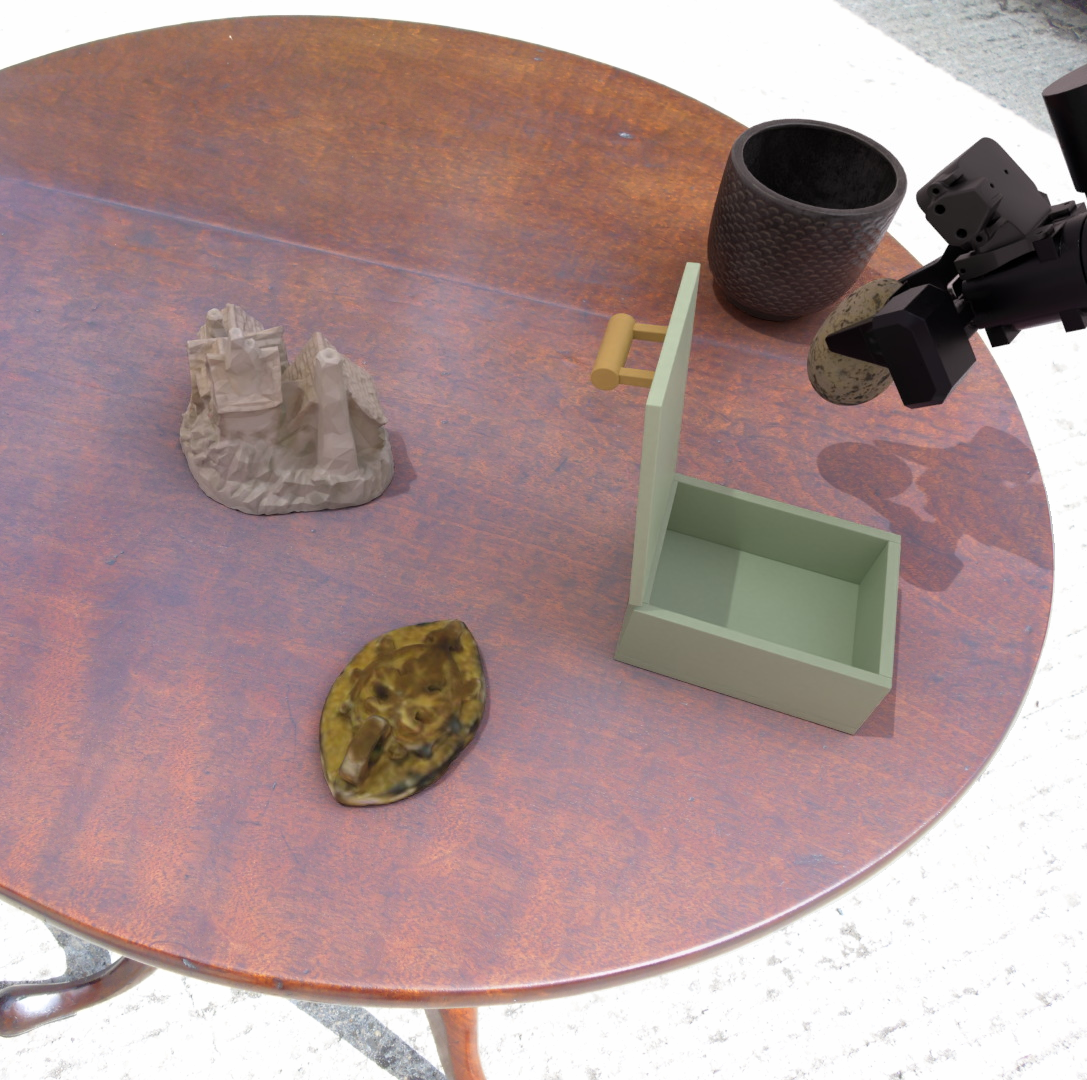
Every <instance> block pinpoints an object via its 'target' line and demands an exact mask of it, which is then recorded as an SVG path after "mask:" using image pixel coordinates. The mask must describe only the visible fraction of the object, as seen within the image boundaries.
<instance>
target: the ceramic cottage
mask: <svg viewBox="0 0 1087 1080" xmlns="http://www.w3.org/2000/svg"><path fill="white" fill-rule="evenodd" d="M205 316H206V317H205V323H204V324H203V325H202V326H200V328H199V330H198V332H196V336H197V339H193V340H187V341H186V344H185V348H186V355H187V359H188V371H189V377H190V385H191V386H190V387H191V393H190V397H189V400H190V401H189V403H188V405H187V408H186V411H185V412H183V413H181V425H180V428H179V438H178V440H179V443H180V446H181V450H182V453H183V454H184V456H185V459H186V460H187V461H186V462H187V466H188V469H189V470H190V473H191V474H192V476H193V479H194V480H195V481H196V483H198V487H199V488H200V490H201V491H202V492H204V493H205V495H206V497H209V498H210V499H212V500H214V502H217V503H219V504H220V505H221V504H222V505H224V506H225V507H226V508H230V509H231V510H238V511H240V512H242V513H245V514H248V515H255V516H258V515H259V516H260V515H266V516H269V515H270V516H271V515H277V514H279V515H283V514H284V515H286V514H290V513H291V512H297V513H299V512H316V511H322V510H326V509H328V510H335V509H347V508H348V507H355V506H357V507H358V506H360V505H364V504H367V503H369V502H371V501H372V500H374V499H376V498H378V497H380V496H381V495H383V493H384V491H385V490H387V488H388V487H389V485H390V484H391V482H392V479H393V477H394V476H395V465H394V463H395V460H394V457H393V452H392V445H391V442H390V436H389V435H390V434H389V431H388V430H387V429H386V428H385V425H387V424H388V423H389V420H388V417H386V415H385V411H384V408H383V406H382V405H381V404H382V403H381V402H380V398H379V394H378V393H379V392H378V389H377V387H376V383H375V379H374V378H373V377H372V375H371V374H370V373H369V372H368V371H367V370H365V368H364V367H362V366H359V365H358V364H356V363H354V362H353V361H351V360H350V358H349V357H347V356H346V355H344V354H343V353H340V352H339V351H338V350H337V348H336V346H335V345H333V344H331V342H330V341H329V340H328V338H326V337H324V336H323V334H322V332H320V331H315V332H313V333H312V334H311V337H310V338H309V340H308V341H306V343H305V344H304V345H303V346H302V347H301V349H300V351H299V352H298V354H297V355H296V356H295V358H294V360H293V362H292V363H289V358H288V351H287V345H286V342H285V340H284V337H283V335H284V332H285V330H284V327H283V324H280V325H278V326H274V327H270V328H267V329H265V327H264V325H263V324H262V323H261V322H260V321H259V320H257V319H256V318H255V317H253V316H251V315H249V314H248V313H247V312H246V311H244V310H243V309H242V308H241V306H239V305H236V304H235V303H229V302H228V303H226V304H225V307H223V308H222V309H221V310H220V309H219V308H216V307H213V308H211V309H210V310H207V313H206V315H205Z"/></svg>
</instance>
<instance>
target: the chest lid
mask: <svg viewBox="0 0 1087 1080" xmlns="http://www.w3.org/2000/svg"><path fill="white" fill-rule="evenodd" d="M685 263H686V264H685V266H684V270H683V273H682V277H681V280H680V284H679V287H678V291H677V294H676V298H675V301H674V305H673V308H672V312H671V314H670V318H669V322H668V326H667V325H659V324H658V325H656V324H649V323H640V322H636V319H635V318H634V317H633V316H632V315H630V314H628V313H623V312H619V313H616V314H614V315H612V316H611V317H610V318H609V320H608V322H607V325H606V329H605V332H604V334H603V337H602V340H601V343H600V345H599V348H598V353H597V355H596V357H595V360H594V363H593V367H592V370H591V373H590V375H589V379H590V382H591V384H592V386H594V387H595V388H596V389H598V390H601V391H612V390H614V389H616V388H617V387H618V386H619V385H623V386H631V387H639V388H646V389H649V392H648V395H647V399H646V402H645V407H644V420H643V431H642V432H643V433H642V445H641V455H640V467H639V468H640V469H639V477H638V478H639V479H638V489H637V490H638V492H637V501H636V502H637V503H636V515H635V526H634V536H633V537H634V538H633V548H632V549H633V550H632V551H633V552H632V560H631V561H632V562H631V570H630V571H631V572H630V584H629V596H628V601H629V604H631V605H637V606H642V603H643V599H644V595H645V591H646V587H647V583H648V579H649V575H650V571H651V566H652V562H653V558H654V554H655V550H656V546H657V542H658V538H659V534H660V530H661V526H662V522H663V518H664V514H665V510H666V506H667V502H668V498H669V494H670V490H671V486H672V482H673V478H674V474H675V472H676V470H677V463H678V456H679V447H680V441H681V440H680V439H681V432H682V431H681V429H682V423H683V414H684V407H685V405H684V404H685V397H686V390H687V381H688V372H689V364H690V355H691V349H692V348H691V347H692V341H693V340H692V339H693V332H694V323H695V322H694V321H695V315H696V314H695V313H696V305H697V300H698V299H697V298H698V291H699V290H698V289H699V281H700V273H701V266H702V265H701V263H700V262H692V261H691V262H690V261H687V262H685ZM633 340H636V341H644V342H645V341H646V342H655V343H662V346H661V350H660V352H659V353H660V354H659V357H658V361H657V364H656V368H655V370H647V369H639V368H632V367H625V365H626V363H627V359H628V356H629V353H630V350H631V346H632V343H633Z"/></svg>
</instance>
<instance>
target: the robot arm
mask: <svg viewBox="0 0 1087 1080" xmlns="http://www.w3.org/2000/svg"><path fill="white" fill-rule="evenodd" d="M1041 97H1042V100H1043V102H1044V105H1045V108H1046V112H1047V114H1048V117H1049V120H1050V123H1051V125H1052V128H1053V132H1054V134H1055V136H1056V139H1057V143H1058V146H1059V148H1060V151H1061V153H1062V156H1063V159H1064V161H1065V165H1066V167H1067V170H1068V173H1069V176H1070V179H1071V182H1072V185H1073V187H1074V190H1075V191H1076V192H1077V193H1080V194H1084V196H1085V198H1086V199H1087V63H1085V64H1082V65H1081V66H1079V67H1077V68H1075V69H1074V70H1071V71H1070V72H1068V73H1066V74H1064V75H1062V76H1061V77H1059V78H1058V79H1056V80H1055V81H1053V82H1052V83H1051V84H1048V86H1046V87H1045V88H1044V89H1043V90H1042V92H1041ZM915 201H916V204H917V206H918V207H919V209H920V210H921V211H922V213H924V215H925V216H924V217H925V220H926V221H927V222H928V224H930V225H931V227H932V228H933V229H934V231H936V232H937V233H938V234H939V235H940V237H941V238H942V239H943V240H944V241H945V242H946V243H947V244H948V245H947V246H946V248H945V249H944V252H943V253H942V254H941V255H940V256H939V257H937V258H935V259H934V260H932V261H929V262H928V263H926V264H925V265H923V266H921V267H919V268H917V269H915V270H914V271H911V272H910V273H908V274H906V275H905V276H902V277H901V278H899V279H898V280H897V279H896V280H897V281H899V282H900V283H901V284H903V285H902V286H901V287H900V288H898V289H897V290H896V291H895V292H894V293H893V294H892V295H891V296H890V297H889V298H888V299H887V301H886V302H885V304H884V307H883V308H882V309H881V310H880V311H879V312H878V313H877V314H875V315H873V316H871V317H868V318H866V319H863V320H861V321H859V322H856V323H854V324H852V325H849V326H847V327H845V328H842V329H840V330H838V331H836V332H834V333H832V334H829V335H828V336H827V337H826V338H825V342H826V344H827V346H828V349H829V350H830V351H831V352H833V353H836V354H840V355H844V356H847V357H851V358H854V359H858V360H861V361H865V362H868V363H872V364H875V365H879V366H882V367H885V368H888V369H889V371H890V374H891V376H892V378H893V383H894V385H895V389H896V390H897V393H898V394H899V398H900V400H901V403H902V405H903V406H904V407H906V408H908V409H911V410H914V409H922V408H927V407H928V408H929V407H933V406H939V405H943V404H944V403H945V402H946V400H947V399H948V398H949V397H950V396H951V395H952V394H953V392H954V391H955V390H957V388H958V387H959V386H960V385H961V383H962V382H963V381H964V380H965V379H966V378H967V376H968V375H969V374H970V371H971V370H972V369H973V368H974V365H975V364H976V362H977V357H976V354H975V352H974V350H973V347H972V345H971V342H970V339H971V338H972V337H973V336H974V335H975V334H976V333H977V331H978V330H983V329H984V330H985V331H984V332H985V334H986V336H987V338H988V341H989V343H990V347H991V348H998V347H1003V346H1007V345H1010V344H1011V343H1012V342H1013V341H1014V340H1015V339H1016V338H1017V336H1018V335H1019V334H1020V333H1021V331H1023V330H1028V329H1032V328H1037V327H1041V326H1048V325H1051V324H1057V323H1062V325H1063V329H1064V331H1065V333H1066V334H1067V333H1071V332H1072V333H1073V332H1076V331H1081V330H1086V329H1087V205H1086V202H1085V201H1081V202H1078V203H1077V202H1076V200H1073V199H1071V200H1068V201H1065V202H1061V203H1058V204H1051V201H1050V198H1049V196H1048V194H1047V193H1045V192H1043V191H1041V190H1039V189H1038V187H1037V185H1036V183H1035V182H1034V181H1033V180H1032V179H1031V178H1030V177H1029V176H1028V174H1027V173H1026V172H1025V171H1024V170H1023V169H1022V167H1020V165H1018V163H1017V162H1016V161H1015V160H1014V159H1013V157H1012V156H1011V155H1010V154H1009V153H1008V152H1007V151H1006V150H1005V149H1004V148H1003V147H1002V145H1001V144H999V142H997V141H996V140H995V139H993V138H991V137H989V136H983V137H981V138H980V139H979V140H977V141H976V142H974V143H973V144H972V145H971V146H970V147H969V148H967V149H965V151H963V152H962V153H961V154H960V155H958V156H957V157H955V159H954V160H952V161H951V162H950V163H948V164H947V165H946V166H944V168H943V169H941V170H939V172H937V173H936V174H935V175H934V176H933V177H932V178H931V179H930V180H929V181H927V182H926V183H925V184H924V185H923V186H922V187H921V188H919V189H918V190H917V192H916V194H915Z"/></svg>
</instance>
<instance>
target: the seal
mask: <svg viewBox="0 0 1087 1080" xmlns="http://www.w3.org/2000/svg"><path fill="white" fill-rule="evenodd" d="M484 671H485V670H484V665H483V659H482V654H481V651H480V648H479V646H478V643H477V641H476V638H475V637H474V635H473V634H472V631H471V630H470V628H469V627H468V626H467V624H466V623H465V622H464V621H462V620H460V619H457V618H452V619H451V618H449V619H441V620H434V621H431V622H429V621H428V622H419V623H416V624H412V625H404V626H402V627H399V628H396V629H393V630H390V631H387V632H385V633H383V634H380V635H378V636H377V637H374V639H372V640H370V641H369V642H367V643H366V644H365V645H363V646H362V647H361V649H360V650H359V651H358V652H357V653H356V654H355V655H354V656H353V657H352V658H351V659H350V660H349V661H348V662H347V664H346V666H345V667H344V669H343V670H342V671H341V673H340V674H339V675H338V676H337V677H336V679H335V681H334V683H333V684H332V685H331V688H330V690H329V692H328V694H327V696H326V698H325V701H324V703H323V707H322V710H321V715H320V720H319V725H318V751H319V759H320V763H321V768H322V772H323V775H324V779H325V781H326V783H327V786H328V788H329V790H330V792H331V795H332V797H333V798H334V799H335V801H336V802H337V803H339V804H342V805H345V806H352V807H353V806H355V807H356V806H357V807H366V806H380V805H388V804H390V803H395V802H398V801H401V800H404V799H406V798H409V797H411V796H413V795H416V794H418V793H420V792H422V791H423V790H424V789H426V788H428V787H430V786H431V785H433V784H434V783H436V782H437V781H438V780H440V779H441V777H442V776H444V774H445V773H446V772H447V771H448V770H449V768H450V766H451V764H453V762H454V761H455V760H457V758H458V756H459V755H460V754H461V753H462V752H463V750H464V749H465V748H466V747H467V746H468V745H470V743H472V741H473V739H474V738H475V734H476V731H477V730H478V729H479V727H480V725H481V722H482V720H483V718H484V717H483V716H484V712H485V708H486V702H487V685H486V684H487V683H486V675H485V672H484Z"/></svg>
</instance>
